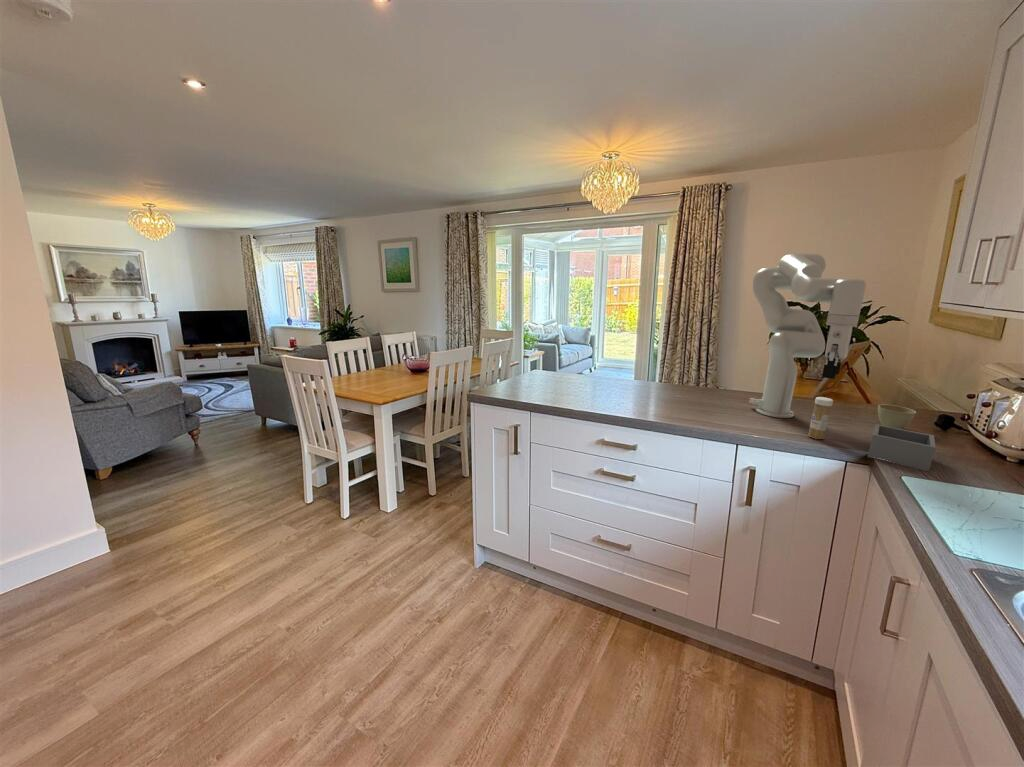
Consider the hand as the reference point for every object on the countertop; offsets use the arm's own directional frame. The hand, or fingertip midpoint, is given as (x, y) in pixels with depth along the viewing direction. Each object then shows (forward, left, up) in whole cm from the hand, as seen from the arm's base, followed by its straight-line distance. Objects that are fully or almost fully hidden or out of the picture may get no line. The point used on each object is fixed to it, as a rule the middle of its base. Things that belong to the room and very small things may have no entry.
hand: (830, 375), depth 131 cm
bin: (+20, -1, -21) cm, 29 cm away
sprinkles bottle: (0, 0, -21) cm, 21 cm away
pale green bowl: (+18, +33, -21) cm, 43 cm away
